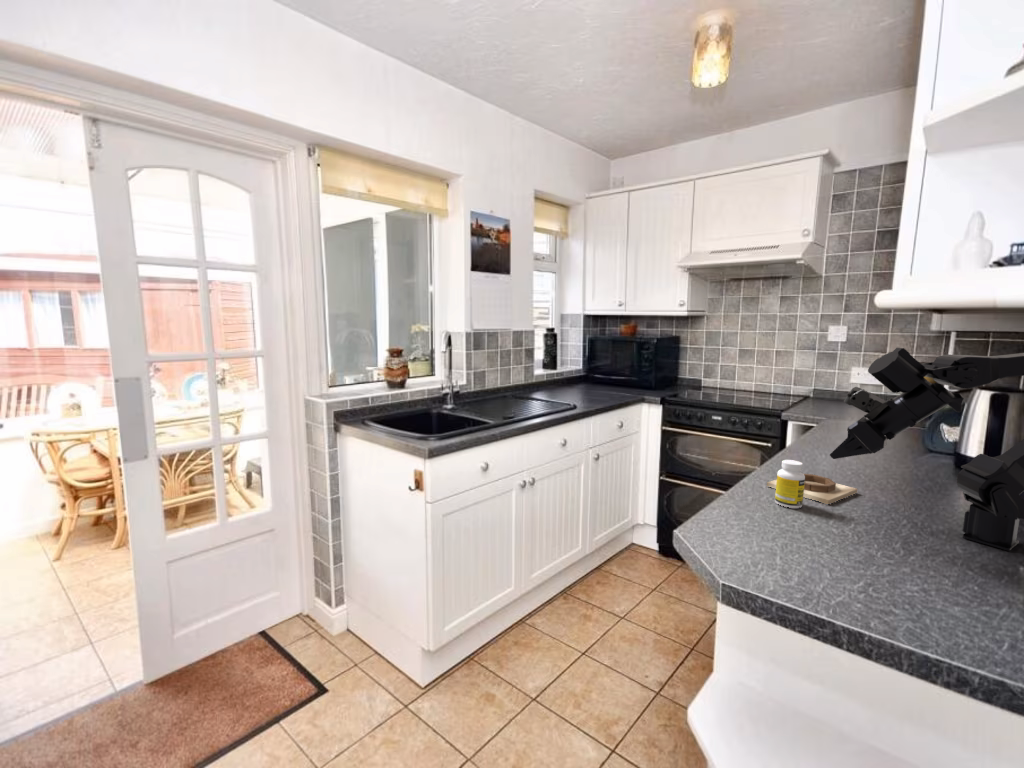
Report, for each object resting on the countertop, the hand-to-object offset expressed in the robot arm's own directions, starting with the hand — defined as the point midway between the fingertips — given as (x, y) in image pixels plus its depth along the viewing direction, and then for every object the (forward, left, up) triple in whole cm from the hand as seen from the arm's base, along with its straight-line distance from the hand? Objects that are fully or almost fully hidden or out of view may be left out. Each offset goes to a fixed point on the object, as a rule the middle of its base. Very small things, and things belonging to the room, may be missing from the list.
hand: (836, 452), depth 102 cm
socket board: (+10, -12, -14) cm, 21 cm away
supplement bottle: (+8, +2, -14) cm, 16 cm away
